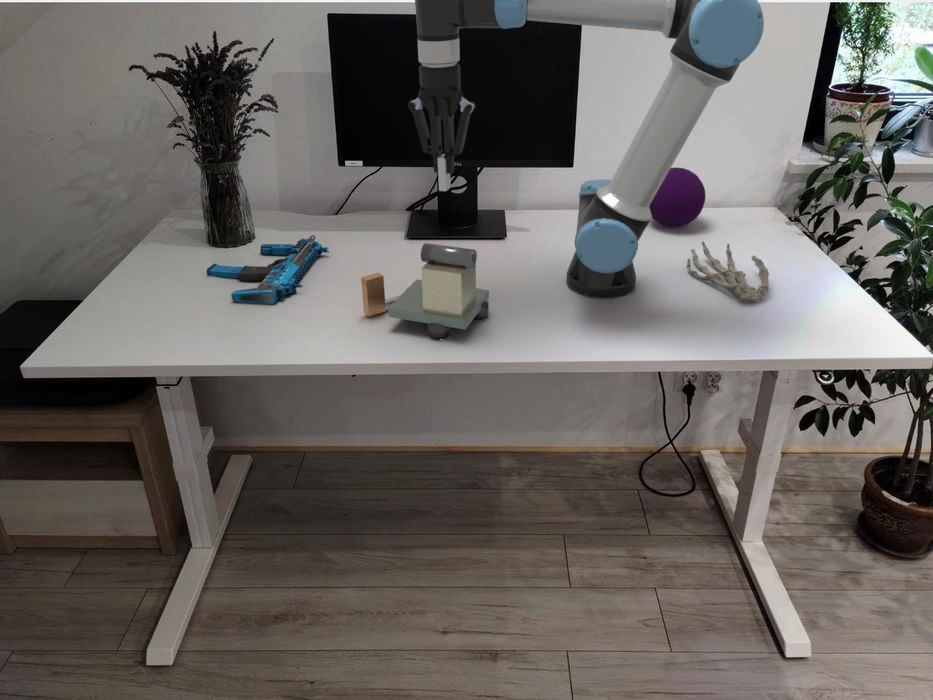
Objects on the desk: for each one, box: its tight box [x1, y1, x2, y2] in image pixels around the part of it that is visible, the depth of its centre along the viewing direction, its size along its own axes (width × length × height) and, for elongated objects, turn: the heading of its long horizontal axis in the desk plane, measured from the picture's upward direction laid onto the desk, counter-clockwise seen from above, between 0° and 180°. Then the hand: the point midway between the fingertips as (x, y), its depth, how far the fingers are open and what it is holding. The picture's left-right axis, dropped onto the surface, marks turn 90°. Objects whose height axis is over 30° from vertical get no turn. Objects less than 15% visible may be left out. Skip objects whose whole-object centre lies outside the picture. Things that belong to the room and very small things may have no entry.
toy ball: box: [649, 167, 706, 228], centre depth 201 cm, size 15×15×15 cm
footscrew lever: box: [360, 272, 410, 317], centre depth 163 cm, size 15×5×8 cm, turn 127°
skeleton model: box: [685, 240, 770, 304], centre depth 175 cm, size 24×13×5 cm, turn 24°
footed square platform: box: [387, 242, 490, 341], centre depth 155 cm, size 17×15×17 cm
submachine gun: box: [206, 234, 330, 305], centre depth 182 cm, size 34×4×25 cm
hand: (444, 188), depth 155 cm, fingers closed
